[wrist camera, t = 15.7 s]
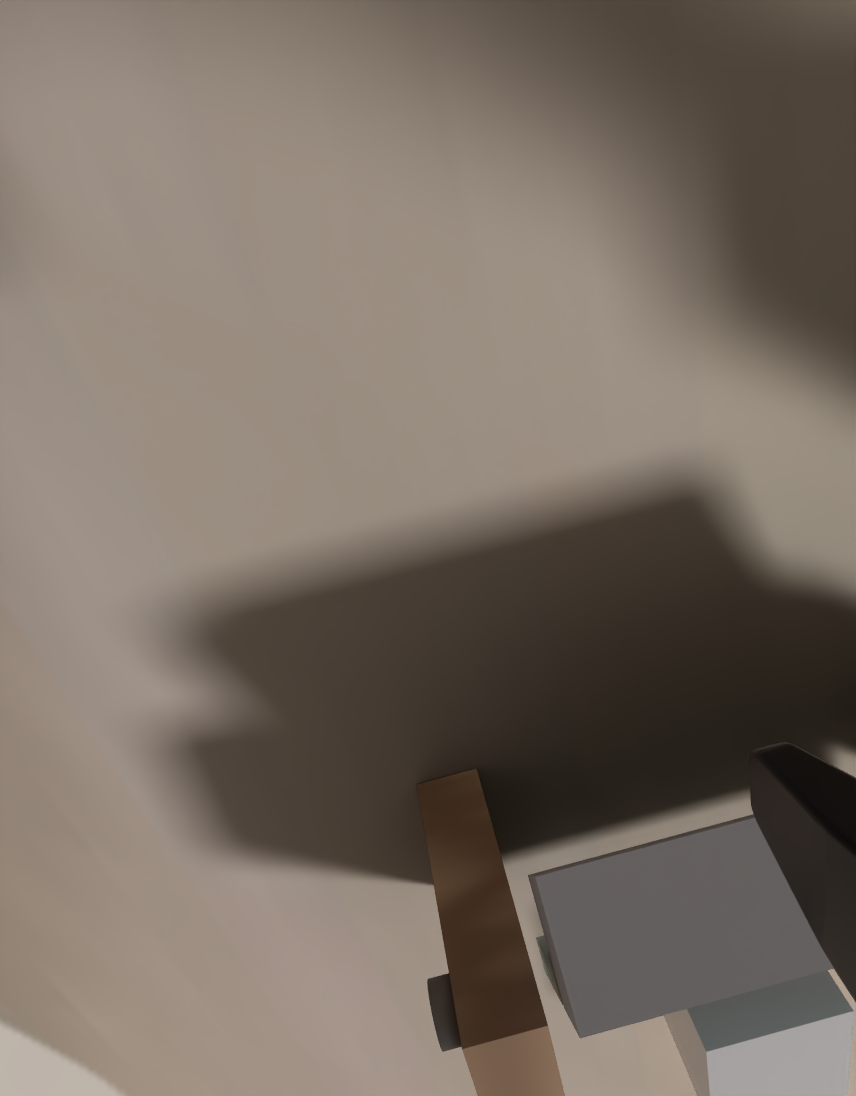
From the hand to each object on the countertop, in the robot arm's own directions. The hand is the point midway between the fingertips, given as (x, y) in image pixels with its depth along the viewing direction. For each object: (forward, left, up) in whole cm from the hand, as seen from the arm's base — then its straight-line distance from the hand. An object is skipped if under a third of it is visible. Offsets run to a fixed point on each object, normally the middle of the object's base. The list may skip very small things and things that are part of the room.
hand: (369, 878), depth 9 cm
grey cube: (-9, +23, -8) cm, 26 cm away
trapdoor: (-9, +11, -9) cm, 17 cm away
